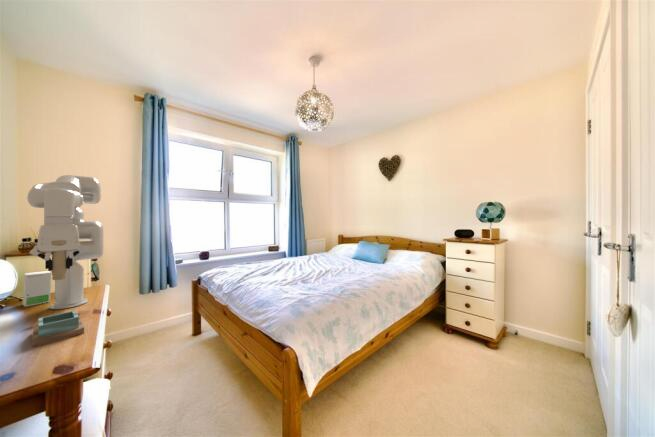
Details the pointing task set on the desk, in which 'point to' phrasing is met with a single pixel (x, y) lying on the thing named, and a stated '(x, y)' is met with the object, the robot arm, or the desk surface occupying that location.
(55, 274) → the handle
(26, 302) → the skincare box
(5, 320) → the desk surface
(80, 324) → the teal open box
